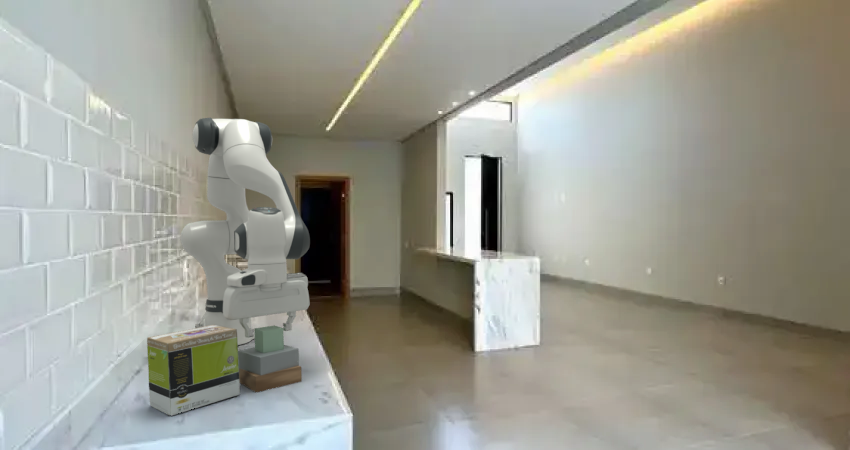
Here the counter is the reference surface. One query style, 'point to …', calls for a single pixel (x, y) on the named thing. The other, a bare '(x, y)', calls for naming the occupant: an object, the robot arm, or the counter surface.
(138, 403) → the counter surface
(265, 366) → the slate slab
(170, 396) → the tea box
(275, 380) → the walnut slab
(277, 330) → the sage cube
